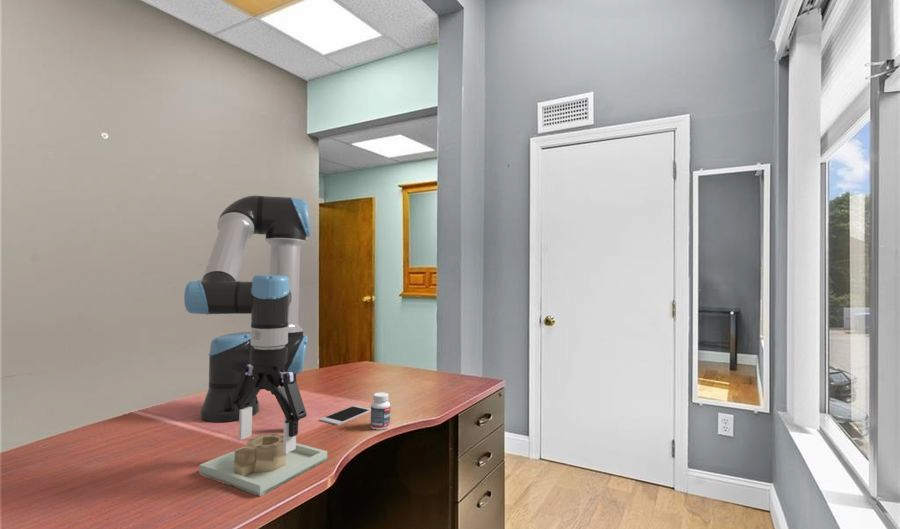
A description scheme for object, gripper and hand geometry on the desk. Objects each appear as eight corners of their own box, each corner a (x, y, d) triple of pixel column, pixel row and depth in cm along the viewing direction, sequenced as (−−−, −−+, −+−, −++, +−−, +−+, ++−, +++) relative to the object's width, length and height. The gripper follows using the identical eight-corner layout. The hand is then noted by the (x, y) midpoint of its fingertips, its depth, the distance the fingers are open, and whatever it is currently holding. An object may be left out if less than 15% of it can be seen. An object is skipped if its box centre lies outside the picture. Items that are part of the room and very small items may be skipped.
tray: (199, 474, 90) (199, 464, 90) (270, 444, 106) (270, 436, 106) (260, 496, 82) (260, 485, 82) (327, 460, 98) (327, 451, 98)
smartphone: (318, 422, 123) (318, 418, 123) (355, 407, 137) (355, 404, 137) (337, 426, 120) (338, 423, 120) (373, 411, 133) (373, 408, 133)
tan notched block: (268, 453, 99) (269, 431, 99) (294, 461, 96) (294, 438, 96) (224, 472, 89) (225, 448, 89) (251, 482, 86) (252, 456, 86)
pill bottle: (385, 431, 116) (386, 397, 116) (367, 429, 117) (368, 396, 117) (392, 424, 121) (393, 392, 121) (374, 422, 122) (375, 391, 122)
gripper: (215, 342, 96) (213, 438, 96) (298, 356, 85) (295, 464, 85) (245, 337, 103) (242, 427, 103) (325, 349, 92) (322, 450, 92)
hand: (266, 444), depth 94 cm, fingers open, 13 cm apart
